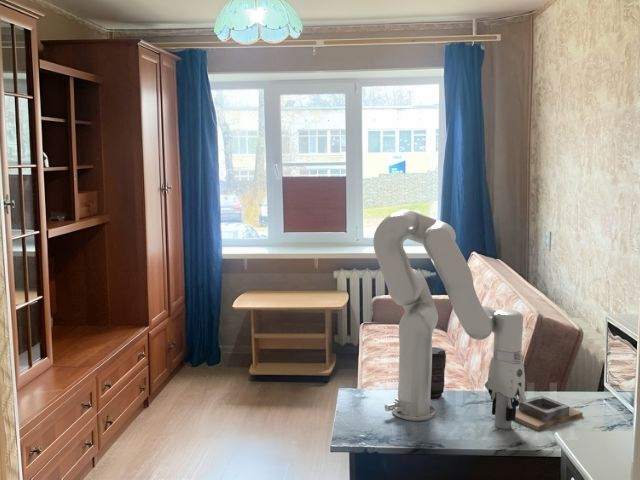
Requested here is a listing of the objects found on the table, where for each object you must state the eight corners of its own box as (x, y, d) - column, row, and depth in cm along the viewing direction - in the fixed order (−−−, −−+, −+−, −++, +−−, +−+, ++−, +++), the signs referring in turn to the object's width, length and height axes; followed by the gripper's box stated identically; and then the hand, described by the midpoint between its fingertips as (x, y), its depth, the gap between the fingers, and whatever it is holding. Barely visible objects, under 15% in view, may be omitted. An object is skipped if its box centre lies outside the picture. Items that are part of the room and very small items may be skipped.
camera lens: (448, 394, 216) (450, 349, 214) (438, 402, 210) (440, 355, 208) (424, 389, 221) (426, 344, 219) (414, 396, 214) (415, 350, 212)
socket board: (536, 430, 190) (537, 417, 190) (504, 415, 200) (504, 403, 200) (582, 416, 201) (583, 404, 200) (549, 403, 211) (550, 391, 210)
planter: (511, 430, 190) (513, 394, 189) (494, 428, 191) (497, 393, 190) (510, 423, 195) (512, 389, 193) (494, 422, 195) (496, 387, 194)
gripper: (540, 361, 185) (536, 424, 187) (493, 345, 199) (490, 404, 202) (521, 365, 181) (517, 430, 183) (475, 348, 195) (472, 409, 198)
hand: (503, 416), depth 192 cm, fingers closed on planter, 4 cm apart
